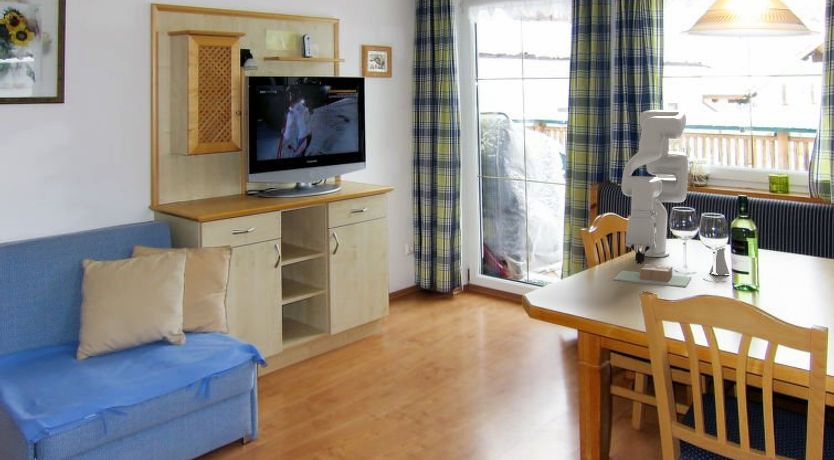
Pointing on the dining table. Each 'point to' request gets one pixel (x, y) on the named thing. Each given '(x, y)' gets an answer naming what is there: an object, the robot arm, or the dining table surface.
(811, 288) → the dining table surface
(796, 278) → the dining table surface
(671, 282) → the sage mat
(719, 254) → the flask
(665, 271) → the walnut slab
